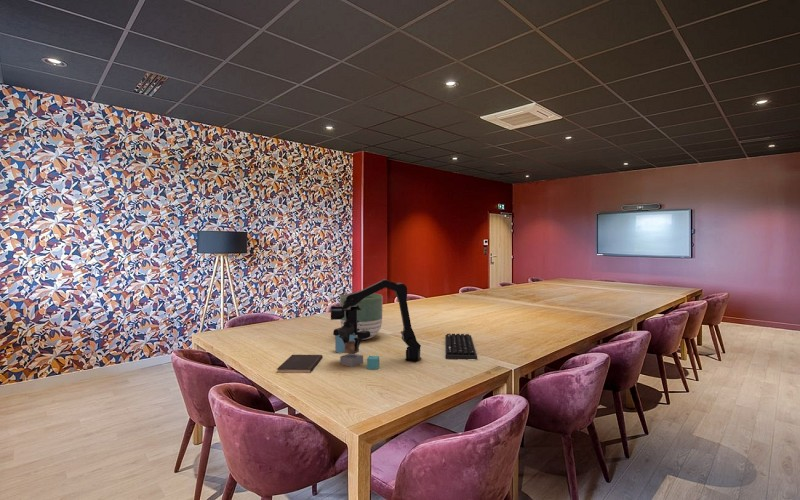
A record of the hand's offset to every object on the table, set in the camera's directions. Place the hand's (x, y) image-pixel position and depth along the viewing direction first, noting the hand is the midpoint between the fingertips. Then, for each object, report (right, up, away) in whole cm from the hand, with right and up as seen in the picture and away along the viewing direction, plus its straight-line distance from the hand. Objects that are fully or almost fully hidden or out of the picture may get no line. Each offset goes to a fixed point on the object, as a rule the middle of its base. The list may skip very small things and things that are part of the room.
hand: (351, 350), depth 192 cm
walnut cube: (0, -1, 0) cm, 1 cm away
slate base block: (0, -7, 0) cm, 7 cm away
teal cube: (+11, -7, -7) cm, 15 cm away
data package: (-6, -6, +22) cm, 24 cm away
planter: (0, -6, +51) cm, 51 cm away
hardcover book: (-25, -7, -2) cm, 26 cm away
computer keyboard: (+58, -7, +28) cm, 65 cm away
